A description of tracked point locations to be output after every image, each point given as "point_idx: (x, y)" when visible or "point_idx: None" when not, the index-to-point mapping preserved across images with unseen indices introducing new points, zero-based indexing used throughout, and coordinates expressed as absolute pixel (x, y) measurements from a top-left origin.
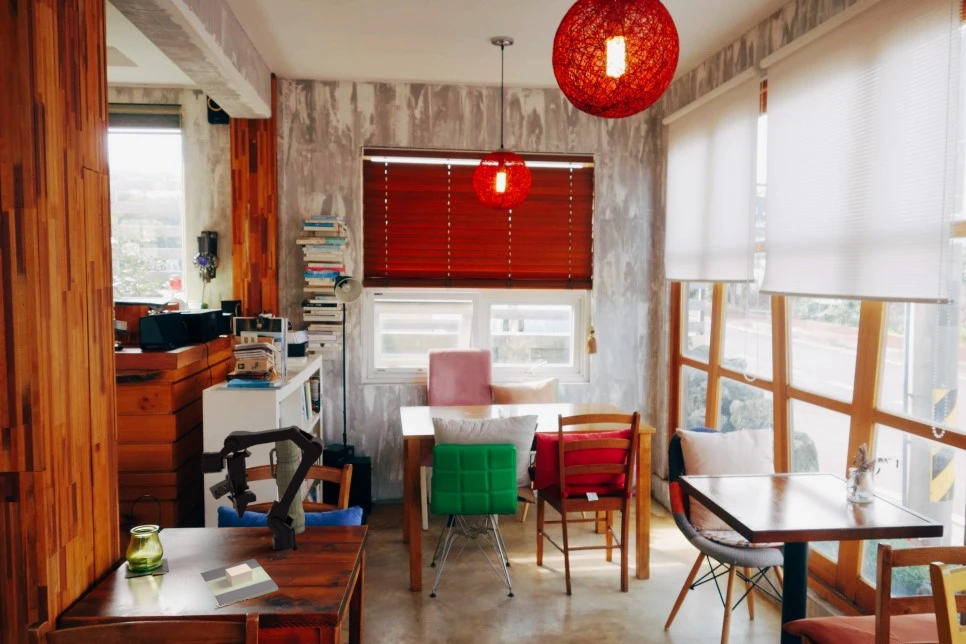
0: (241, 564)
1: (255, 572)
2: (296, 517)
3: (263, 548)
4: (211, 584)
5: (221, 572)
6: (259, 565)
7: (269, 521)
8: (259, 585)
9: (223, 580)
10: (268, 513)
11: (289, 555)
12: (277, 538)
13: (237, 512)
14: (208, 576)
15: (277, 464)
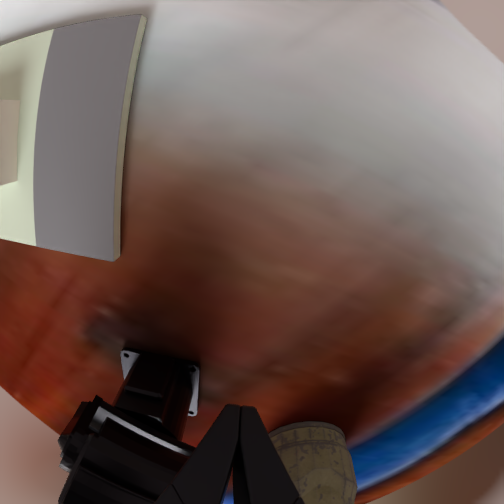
0: (89, 192)
1: (6, 209)
2: None
3: (232, 342)
4: (24, 47)
5: (75, 92)
6: (42, 245)
7: (81, 447)
8: None
9: (19, 89)
10: (100, 491)
11: (100, 361)
12: (119, 394)
13: (214, 453)
14: (83, 39)
15: None
